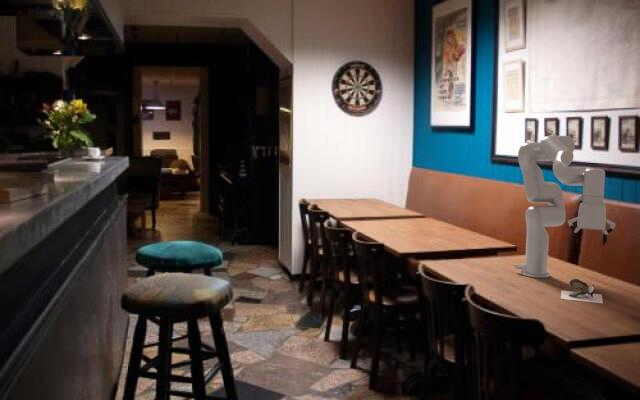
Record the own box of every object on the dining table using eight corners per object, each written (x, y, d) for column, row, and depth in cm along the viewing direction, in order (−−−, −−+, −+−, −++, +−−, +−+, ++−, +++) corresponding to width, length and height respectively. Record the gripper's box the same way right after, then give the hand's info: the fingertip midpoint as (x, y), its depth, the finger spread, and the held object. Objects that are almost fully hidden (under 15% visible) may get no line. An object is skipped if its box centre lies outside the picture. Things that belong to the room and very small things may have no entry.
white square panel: (560, 298, 246) (560, 298, 246) (561, 290, 258) (561, 290, 258) (602, 303, 240) (602, 303, 240) (601, 294, 253) (601, 294, 253)
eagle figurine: (590, 291, 253) (567, 285, 255) (596, 279, 248) (573, 273, 250) (591, 305, 247) (567, 299, 249) (597, 293, 243) (573, 287, 244)
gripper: (568, 199, 246) (566, 243, 248) (617, 202, 239) (614, 246, 241) (569, 198, 253) (566, 240, 255) (616, 200, 246) (614, 243, 248)
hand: (590, 243), depth 248 cm, fingers open, 9 cm apart
